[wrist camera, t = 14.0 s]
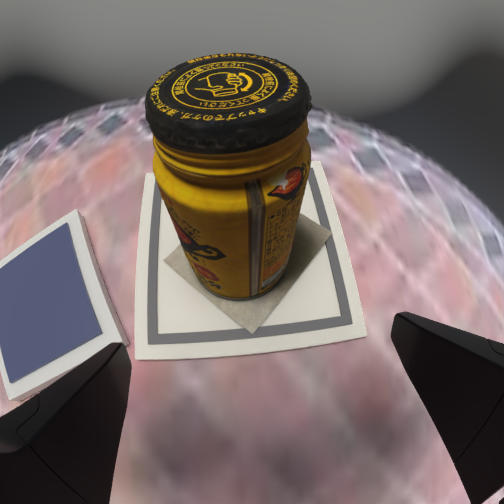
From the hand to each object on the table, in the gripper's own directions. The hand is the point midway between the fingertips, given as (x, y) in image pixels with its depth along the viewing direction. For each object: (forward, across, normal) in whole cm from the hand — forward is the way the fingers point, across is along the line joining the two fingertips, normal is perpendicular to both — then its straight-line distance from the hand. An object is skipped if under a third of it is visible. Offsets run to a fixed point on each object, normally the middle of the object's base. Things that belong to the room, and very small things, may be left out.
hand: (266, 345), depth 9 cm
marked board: (+11, 0, 0) cm, 11 cm away
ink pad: (+9, +15, +3) cm, 17 cm away
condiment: (+11, 0, 0) cm, 11 cm away
